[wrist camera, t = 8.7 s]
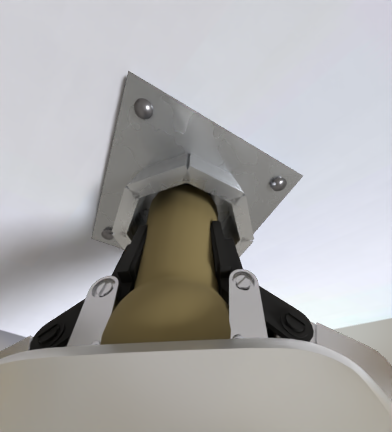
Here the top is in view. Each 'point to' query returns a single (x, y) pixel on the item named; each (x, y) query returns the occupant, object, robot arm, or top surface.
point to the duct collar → (183, 168)
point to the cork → (174, 276)
